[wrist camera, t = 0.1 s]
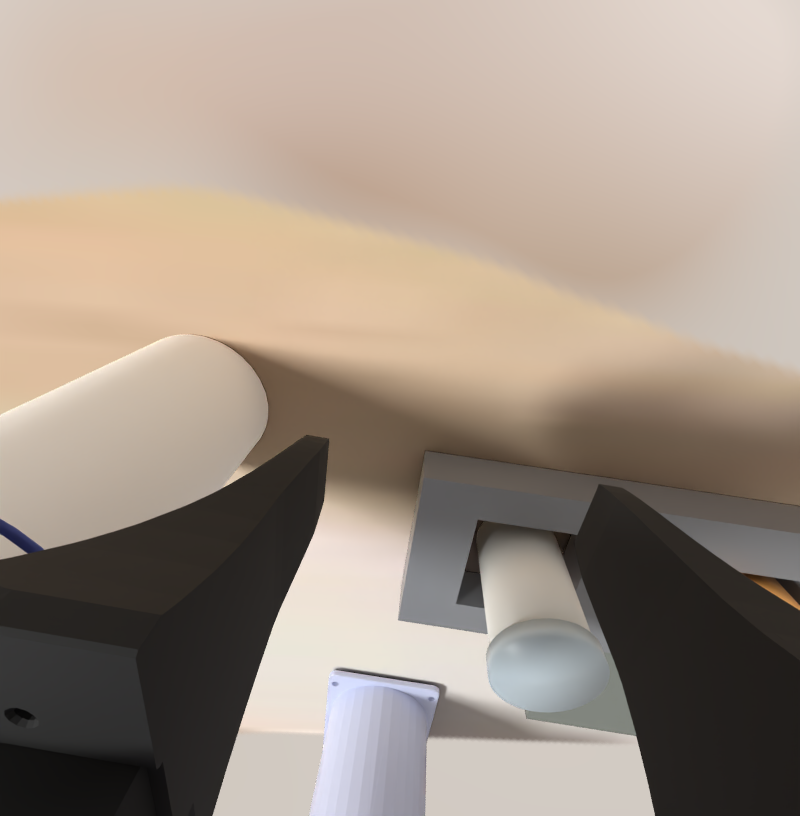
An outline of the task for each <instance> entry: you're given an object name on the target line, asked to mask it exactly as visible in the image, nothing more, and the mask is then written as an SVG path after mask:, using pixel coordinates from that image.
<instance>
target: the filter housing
mask: <svg viewBox="0 0 800 816" xmlns="http://www.w3.org/2000/svg"><path fill="white" fill-rule="evenodd" d="M599 484H603V485H609V486H615V487H621V488H624V489H625V490H627V491H629V492H630V493H632V494H633V495H635V496H636V497H638V498H639V499H640V500H642V501H643V502H644V503H646V504H647V505H649V506H650V507H651V508H653V509H654V510H655V511H657V512H658V513H659V514H661V515H662V516H663V517H665V518H666V519H667V520H669V521H670V522H671V523H673V524H674V525H675V526H676V527H678V528H679V529H680V530H682V531H683V532H684V533H686V534H687V535H688V536H690V537H691V538H692V539H694V540H695V541H697V542H698V543H699V544H701V545H702V546H703V547H705V548H706V549H707V550H709V551H710V552H712V553H713V554H714V555H716V556H717V557H719V558H720V559H722V560H723V561H724V562H726V563H727V564H729V565H730V566H732V567H733V568H734V569H736V570H737V571H739V572H741V573H747V574H754V575H761V576H767V577H774V578H775V579H776V580H777V581H778V582H779V583H780V584H781V586H782V587H783V588H784V589H785V590H786V591H787V592H788V593H789V594H790V595H791V596H792V597H793V599H794V600H795V601H796V602H797V603H798V604H799V605H800V506H794V505H787V504H781V503H774V502H767V501H760V500H754V499H747V498H740V497H733V496H727V495H720V494H713V493H707V492H700V491H693V490H686V489H680V488H673V487H666V486H659V485H653V484H646V483H639V482H632V481H626V480H619V479H612V478H606V477H599V476H592V475H585V474H579V473H572V472H565V471H558V470H552V469H545V468H538V467H532V466H525V465H518V464H511V463H505V462H498V461H491V460H484V459H478V458H471V457H464V456H457V455H451V454H444V453H437V452H431V451H425V454H424V460H423V466H422V471H421V477H420V483H419V488H418V494H417V500H416V505H415V511H414V517H413V522H412V528H411V534H410V539H409V545H408V551H407V556H406V562H405V568H404V573H403V579H402V585H401V595H400V606H399V616H398V620H400V621H406V622H413V623H419V624H426V625H432V626H439V627H445V628H451V629H458V630H464V631H471V632H477V633H484V634H488V631H487V623H486V615H485V607H484V599H483V591H482V583H481V575H480V574H479V573H473V572H466V571H465V567H466V563H467V559H468V556H469V552H470V548H471V544H472V540H473V536H474V533H475V529H476V525H477V521H478V520H483V521H489V522H496V523H502V524H509V525H516V526H522V527H529V528H536V529H542V530H549V531H555V532H562V533H569V534H571V537H570V539H569V542H568V545H567V547H566V550H565V552H564V555H563V559H564V561H565V564H566V567H567V569H568V572H569V575H570V578H571V580H572V583H573V586H574V588H575V591H576V594H577V597H578V599H579V602H580V605H581V607H582V610H583V613H584V615H585V618H586V621H587V624H588V626H589V629H590V632H591V633H592V634H593V635H594V636H595V637H596V638H597V640H598V641H599V643H600V645H601V647H602V650H603V652H606V653H611V652H610V650H609V647H608V645H607V642H606V640H605V637H604V635H603V632H602V629H601V627H600V624H599V622H598V619H597V617H596V614H595V612H594V609H593V606H592V604H591V601H590V599H589V596H588V593H587V591H586V588H585V585H584V582H583V580H582V576H581V572H580V568H579V564H578V560H577V555H576V550H575V546H574V542H575V539H576V537H577V535H578V532H579V530H580V528H581V525H582V523H583V520H584V518H585V516H586V513H587V511H588V509H589V506H590V504H591V502H592V499H593V497H594V495H595V492H596V490H597V488H598V485H599Z"/></svg>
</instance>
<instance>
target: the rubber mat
mask: <svg viewBox="0 0 800 816" xmlns="http://www.w3.org/2000/svg"><path fill="white" fill-rule="evenodd" d="M604 655H605V658H606V660H607V663H608V665H609V670H610V677H609V681H608V684H607V686H606V688H605V689H604V691H603V692H602V693H601V694H600V695H599V696H598V697H596V698H595V699H594V700H592V701H591V702H589V703H587V704H585V705H583V706H580V707H578V708H574V709H571V710H567V711H561V712H534V711H529V710H525V714H526V719H532V720H539V721H545V722H551V723H558V724H564V725H570V726H577V727H583V728H589V729H596V730H602V731H608V732H615V733H621V734H627V735H634V736H636V732H635V729H634V725H633V721H632V718H631V714H630V711H629V707H628V704H627V700H626V697H625V693H624V689H623V686H622V683H621V680H620V677H619V674H618V671H617V668H616V665H615V663H614V660H613V658H612V655H611V653H606V652H604Z"/></svg>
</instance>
